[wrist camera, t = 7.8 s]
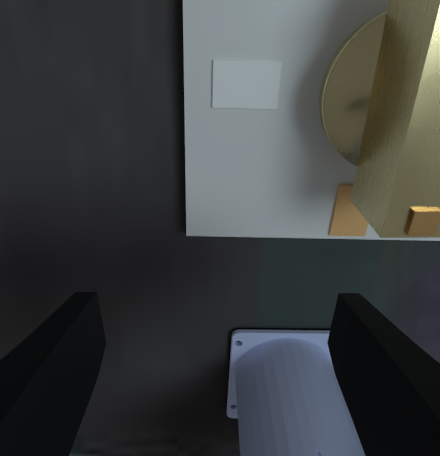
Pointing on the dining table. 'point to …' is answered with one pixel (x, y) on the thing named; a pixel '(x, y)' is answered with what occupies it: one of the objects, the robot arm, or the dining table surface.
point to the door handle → (390, 117)
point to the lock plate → (266, 119)
